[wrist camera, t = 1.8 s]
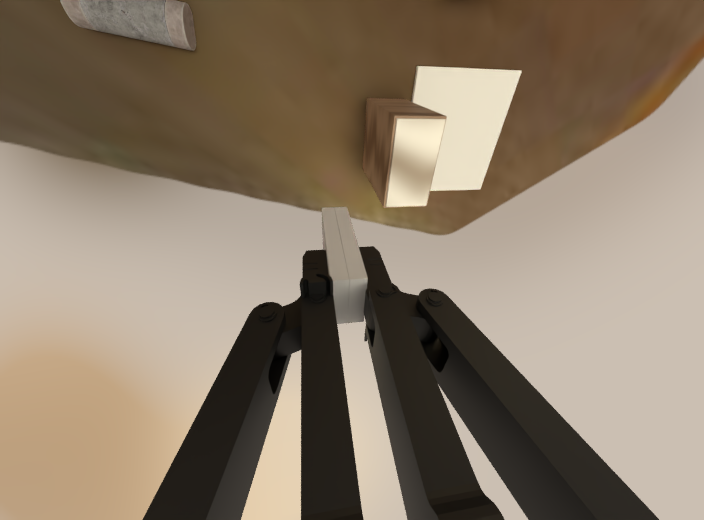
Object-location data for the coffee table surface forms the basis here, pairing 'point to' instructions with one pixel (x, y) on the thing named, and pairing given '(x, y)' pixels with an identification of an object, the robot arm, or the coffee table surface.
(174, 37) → the rubber mallet
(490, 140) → the felt mat
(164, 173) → the coffee table surface
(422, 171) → the wooden block
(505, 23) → the coffee table surface
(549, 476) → the robot arm
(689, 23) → the coffee table surface
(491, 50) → the coffee table surface
